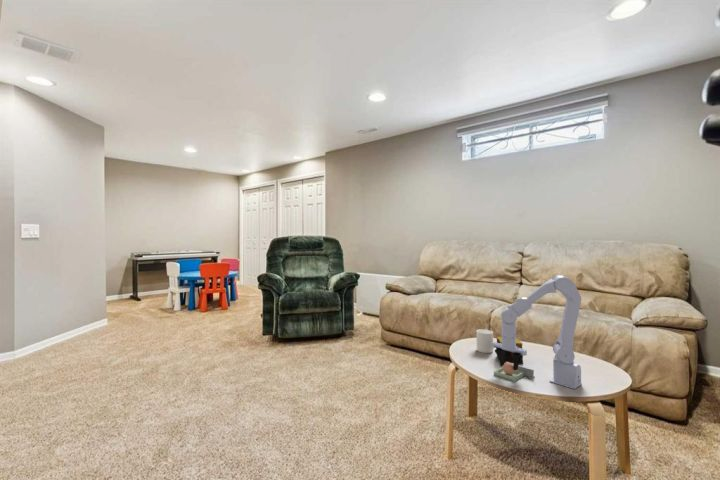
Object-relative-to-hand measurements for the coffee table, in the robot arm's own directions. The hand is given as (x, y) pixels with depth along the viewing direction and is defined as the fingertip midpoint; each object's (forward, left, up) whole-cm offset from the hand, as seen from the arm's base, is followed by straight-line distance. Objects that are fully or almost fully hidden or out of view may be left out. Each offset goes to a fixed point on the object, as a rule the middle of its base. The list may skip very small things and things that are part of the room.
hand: (508, 367), depth 147 cm
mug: (+24, -23, -4) cm, 34 cm away
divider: (-2, -5, -3) cm, 7 cm away
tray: (0, 0, -3) cm, 3 cm away
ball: (0, 0, 0) cm, 1 cm away
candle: (+9, -18, -4) cm, 21 cm away
